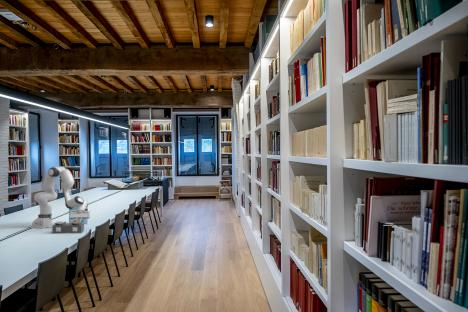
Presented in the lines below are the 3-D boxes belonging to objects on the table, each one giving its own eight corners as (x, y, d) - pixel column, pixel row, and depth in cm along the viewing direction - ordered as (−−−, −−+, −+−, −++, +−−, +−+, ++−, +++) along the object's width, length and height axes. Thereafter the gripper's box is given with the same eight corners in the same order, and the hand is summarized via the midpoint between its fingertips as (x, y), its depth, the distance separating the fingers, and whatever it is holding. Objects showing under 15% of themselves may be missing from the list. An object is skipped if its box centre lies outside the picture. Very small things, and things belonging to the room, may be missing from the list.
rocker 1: (58, 223, 354) (58, 221, 355) (64, 223, 355) (64, 221, 356) (56, 223, 348) (56, 221, 348) (62, 223, 348) (62, 221, 349)
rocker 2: (74, 223, 357) (74, 221, 357) (80, 223, 357) (80, 221, 358) (72, 223, 350) (72, 221, 350) (78, 223, 351) (78, 221, 351)
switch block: (52, 233, 345) (52, 223, 345) (55, 231, 356) (56, 221, 356) (80, 233, 349) (81, 223, 349) (84, 230, 360) (84, 221, 360)
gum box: (86, 222, 401) (87, 203, 401) (87, 223, 397) (87, 204, 397) (68, 224, 391) (69, 204, 391) (69, 225, 386) (69, 205, 386)
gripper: (70, 209, 363) (67, 220, 354) (90, 209, 367) (88, 220, 357) (71, 212, 368) (68, 223, 359) (91, 212, 371) (89, 223, 362)
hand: (78, 222), depth 358 cm, fingers closed, pressing on rocker 2
